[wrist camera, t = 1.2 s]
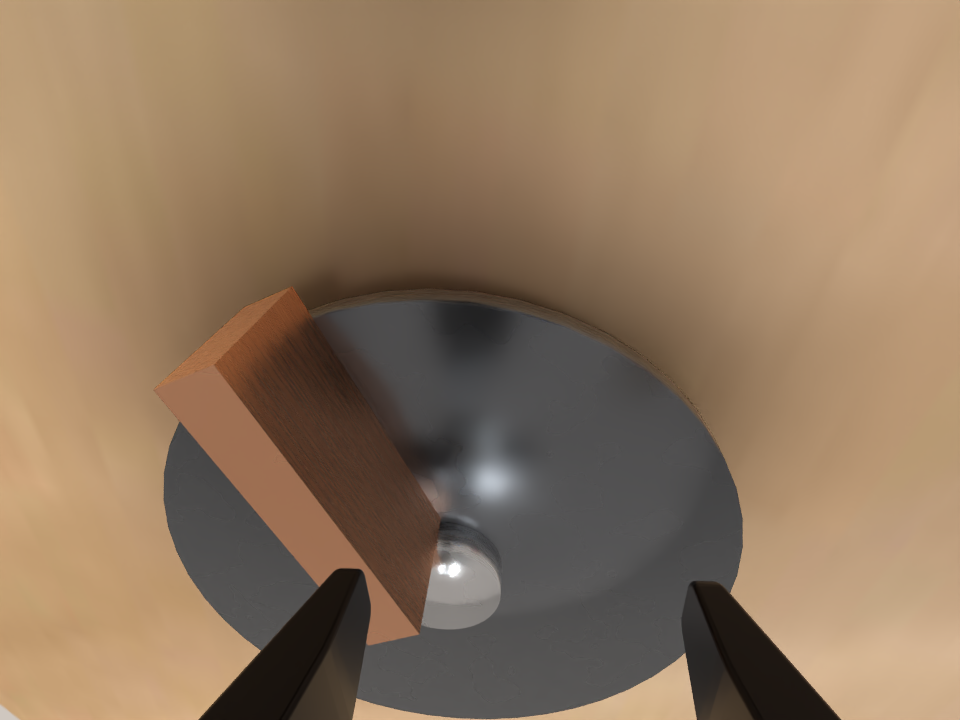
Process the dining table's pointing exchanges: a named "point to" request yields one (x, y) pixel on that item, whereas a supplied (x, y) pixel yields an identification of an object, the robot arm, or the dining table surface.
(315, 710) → the robot arm
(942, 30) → the dining table surface
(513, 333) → the grey disc with hub
